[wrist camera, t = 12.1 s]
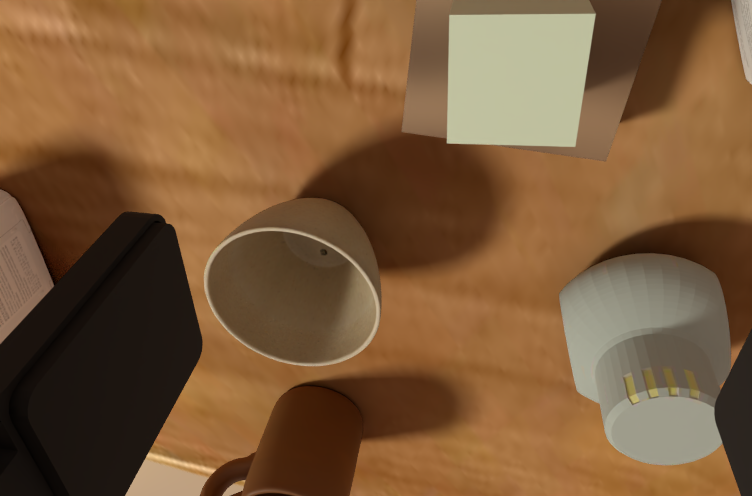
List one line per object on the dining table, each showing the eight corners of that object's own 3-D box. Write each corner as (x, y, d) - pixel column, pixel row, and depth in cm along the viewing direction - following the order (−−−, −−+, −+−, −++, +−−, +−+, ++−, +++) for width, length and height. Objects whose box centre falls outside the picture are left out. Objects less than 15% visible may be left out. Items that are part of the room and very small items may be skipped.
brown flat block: (436, -109, 27) (427, -99, 24) (662, -84, 26) (685, -70, 23) (410, 101, 33) (401, 132, 30) (595, 127, 32) (605, 161, 29)
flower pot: (254, 142, 36) (208, 204, 30) (416, 189, 36) (400, 260, 30) (239, 267, 42) (198, 340, 36) (378, 307, 42) (358, 386, 36)
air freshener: (550, 243, 36) (565, 364, 28) (701, 219, 34) (764, 344, 26) (576, 369, 42) (594, 499, 34) (707, 356, 39) (760, 494, 31)
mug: (252, 448, 54) (213, 551, 46) (214, 391, 50) (164, 493, 42) (377, 439, 50) (356, 549, 43) (347, 377, 46) (317, 486, 39)
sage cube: (457, -16, 25) (449, 15, 21) (580, -19, 25) (595, 13, 21) (454, 97, 28) (446, 143, 24) (564, 99, 27) (575, 146, 23)
